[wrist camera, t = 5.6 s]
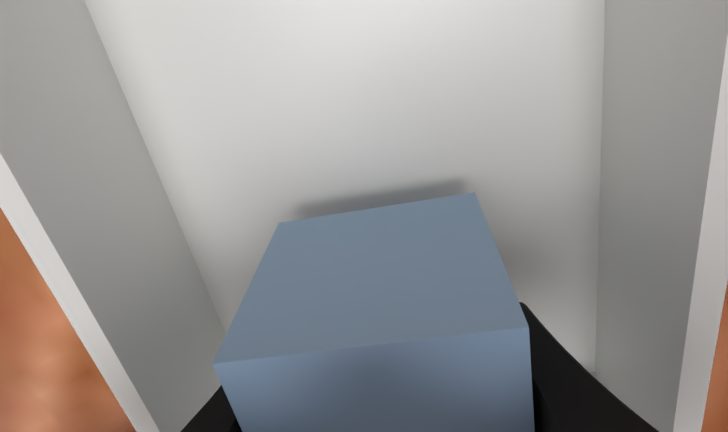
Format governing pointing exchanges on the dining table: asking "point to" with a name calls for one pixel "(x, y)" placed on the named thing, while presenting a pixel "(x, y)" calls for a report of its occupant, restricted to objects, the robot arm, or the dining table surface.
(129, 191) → the tote
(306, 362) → the cube
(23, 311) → the dining table surface
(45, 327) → the dining table surface
